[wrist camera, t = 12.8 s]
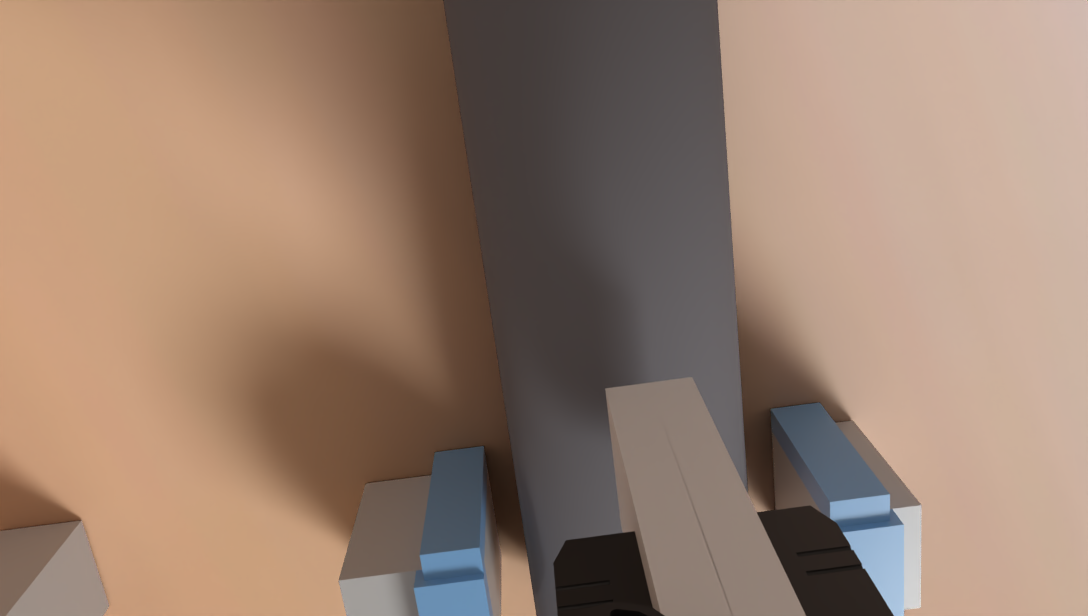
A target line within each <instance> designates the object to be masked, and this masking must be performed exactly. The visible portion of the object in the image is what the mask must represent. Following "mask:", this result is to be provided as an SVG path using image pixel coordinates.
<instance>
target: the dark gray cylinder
mask: <svg viewBox="0 0 1088 616" xmlns="http://www.w3.org/2000/svg"><path fill="white" fill-rule="evenodd" d="M443 1H444V8H445V15H446V21H447V28H448V34H449V41H450V48H451V54H452V61H453V67H454V74H455V81H456V87H457V94H458V100H459V107H460V114H461V120H462V127H463V133H464V140H465V147H466V153H467V160H468V166H469V173H470V180H471V186H472V193H473V199H474V206H475V213H476V219H477V226H478V232H479V239H480V246H481V252H482V259H483V265H484V272H485V279H486V285H487V292H488V298H489V305H490V312H491V318H492V325H493V331H494V338H495V345H496V351H497V358H498V364H499V371H500V378H501V384H502V391H503V397H504V404H505V411H506V417H507V424H508V430H509V437H510V444H511V450H512V457H513V463H514V470H515V477H516V483H517V490H518V496H519V503H520V510H521V516H522V523H523V529H524V536H525V543H526V549H527V556H528V562H529V569H530V576H531V582H532V589H533V595H534V602H535V609H536V615H537V616H558V615H557V602H556V589H555V578H554V566H553V563H554V561H555V559H556V557H557V555H558V554H559V552H560V550H561V548H562V546H563V545H564V543H565V541H566V540H571V539H579V538H586V537H594V536H601V535H609V534H616V533H623V532H622V527H621V520H620V511H619V503H618V494H617V486H616V477H615V468H614V460H613V451H612V443H611V434H610V425H609V417H608V408H607V400H606V391H605V388H613V387H620V386H628V385H635V384H643V383H650V382H658V381H665V380H673V379H680V378H688V377H692V378H693V380H694V382H695V384H696V386H697V388H698V390H699V393H700V395H701V397H702V399H703V401H704V403H705V405H706V407H707V409H708V411H709V414H710V416H711V418H712V420H713V422H714V424H715V426H716V428H717V430H718V432H719V434H720V437H721V439H722V441H723V443H724V445H725V447H726V449H727V451H728V453H729V455H730V457H731V460H732V462H733V464H734V466H735V468H736V470H737V472H738V474H739V476H740V478H741V481H742V483H743V485H744V487H745V489H746V491H747V493H748V487H747V470H746V454H745V438H744V422H743V406H742V390H741V374H740V358H739V342H738V326H737V310H736V294H735V278H734V262H733V246H732V229H731V213H730V197H729V181H728V165H727V149H726V133H725V117H724V101H723V85H722V69H721V53H720V37H719V21H718V4H717V0H443Z"/></svg>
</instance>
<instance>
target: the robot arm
mask: <svg viewBox="0 0 1088 616" xmlns="http://www.w3.org/2000/svg"><path fill="white" fill-rule="evenodd" d="M605 391H606V400H607V408H608V417H609V425H610V434H611V443H612V451H613V460H614V468H615V477H616V486H617V494H618V503H619V511H620V520H621V527H622V532H623V533H616V534H609V535H601V536H594V537H586V538H579V539H571V540H566V541H565V543H564V545H563V546H562V548H561V550H560V552H559V554H558V555H557V557H556V559H555V561H554V563H553V566H554V578H555V589H556V602H557V615H558V616H894V615H893V613H892V612H891V610H890V608H889V607H888V605H887V604H886V602H885V600H884V599H883V597H882V596H881V594H880V592H879V591H878V589H877V587H876V586H875V584H874V583H873V581H872V579H871V578H870V576H869V574H868V573H867V571H866V570H865V569H863V567H862V563H861V562H860V560H859V558H858V557H857V555H856V553H855V552H854V550H851V545H850V544H849V542H848V540H847V539H846V537H845V536H844V534H843V532H842V531H841V529H840V527H839V526H838V524H837V523H836V522H835V521H833V520H832V519H830V518H829V517H827V516H826V515H824V514H822V513H821V512H819V511H818V510H816V509H815V508H813V507H812V506H810V505H809V506H801V507H794V508H786V509H779V510H771V511H764V512H756V510H755V508H754V506H753V504H752V501H751V499H750V497H749V495H748V493H747V491H746V489H745V487H744V485H743V483H742V481H741V478H740V476H739V474H738V472H737V470H736V468H735V466H734V464H733V462H732V460H731V457H730V455H729V453H728V451H727V449H726V447H725V445H724V443H723V441H722V439H721V437H720V434H719V432H718V430H717V428H716V426H715V424H714V422H713V420H712V418H711V416H710V414H709V411H708V409H707V407H706V405H705V403H704V401H703V399H702V397H701V395H700V393H699V390H698V388H697V386H696V384H695V382H694V380H693V378H692V377H688V378H680V379H673V380H665V381H658V382H650V383H643V384H635V385H628V386H620V387H613V388H605Z"/></svg>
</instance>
